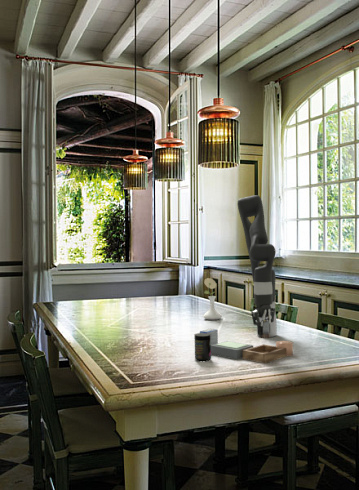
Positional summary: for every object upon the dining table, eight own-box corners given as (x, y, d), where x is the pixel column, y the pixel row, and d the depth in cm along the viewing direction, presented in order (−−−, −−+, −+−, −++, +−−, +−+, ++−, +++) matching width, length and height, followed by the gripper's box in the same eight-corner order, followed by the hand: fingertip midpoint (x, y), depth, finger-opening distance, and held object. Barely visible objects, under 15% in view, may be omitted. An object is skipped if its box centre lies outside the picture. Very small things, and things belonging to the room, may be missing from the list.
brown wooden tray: (242, 358, 207) (242, 350, 207) (263, 352, 218) (263, 344, 218) (265, 363, 199) (265, 354, 199) (286, 356, 210) (286, 348, 210)
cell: (262, 335, 211) (262, 318, 211) (271, 337, 208) (271, 319, 208) (256, 337, 208) (256, 320, 208) (265, 338, 205) (265, 321, 205)
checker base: (227, 349, 225) (227, 341, 224) (253, 354, 214) (253, 345, 214) (210, 354, 217) (210, 345, 217) (236, 359, 207) (236, 350, 207)
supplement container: (210, 362, 203) (209, 336, 203) (193, 361, 204) (193, 336, 204) (212, 358, 210) (211, 333, 210) (196, 357, 211) (195, 332, 211)
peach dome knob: (282, 351, 218) (281, 340, 218) (296, 354, 213) (296, 342, 213) (272, 354, 213) (272, 342, 213) (287, 357, 208) (286, 345, 208)
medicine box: (210, 347, 231) (209, 328, 230) (218, 348, 228) (217, 329, 228) (199, 350, 225) (199, 330, 224) (207, 351, 222) (207, 331, 222)
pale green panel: (227, 344, 222) (227, 341, 222) (248, 347, 214) (247, 344, 214) (215, 347, 217) (215, 344, 217) (236, 350, 209) (236, 348, 209)
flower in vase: (225, 319, 305) (225, 278, 305) (210, 321, 299) (210, 279, 298) (212, 316, 316) (211, 276, 316) (197, 318, 310) (196, 278, 309)
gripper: (265, 290, 216) (266, 330, 216) (245, 293, 206) (245, 335, 206) (280, 291, 210) (281, 332, 211) (260, 294, 200) (261, 338, 201)
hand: (263, 334), depth 208 cm, fingers closed on cell, 4 cm apart
